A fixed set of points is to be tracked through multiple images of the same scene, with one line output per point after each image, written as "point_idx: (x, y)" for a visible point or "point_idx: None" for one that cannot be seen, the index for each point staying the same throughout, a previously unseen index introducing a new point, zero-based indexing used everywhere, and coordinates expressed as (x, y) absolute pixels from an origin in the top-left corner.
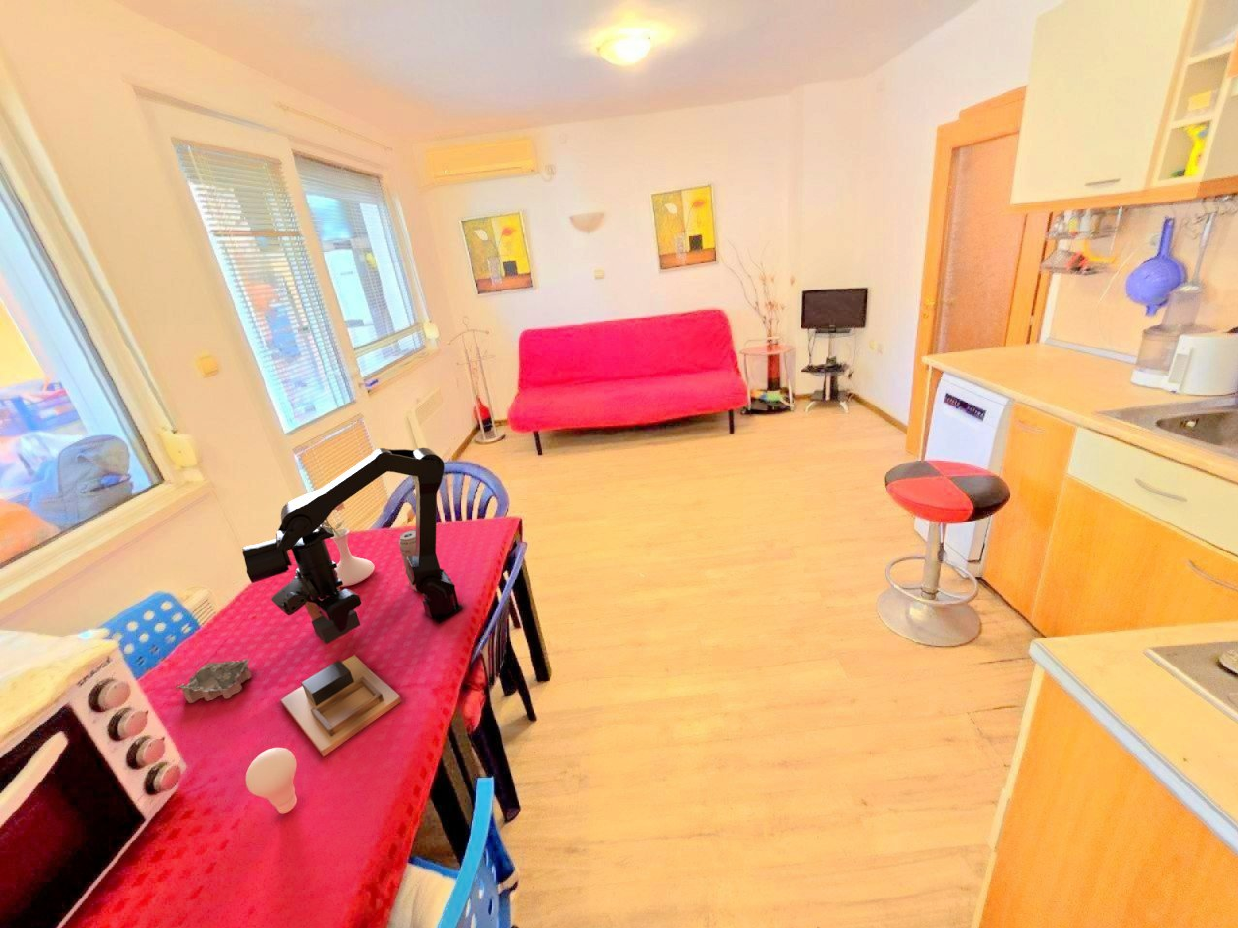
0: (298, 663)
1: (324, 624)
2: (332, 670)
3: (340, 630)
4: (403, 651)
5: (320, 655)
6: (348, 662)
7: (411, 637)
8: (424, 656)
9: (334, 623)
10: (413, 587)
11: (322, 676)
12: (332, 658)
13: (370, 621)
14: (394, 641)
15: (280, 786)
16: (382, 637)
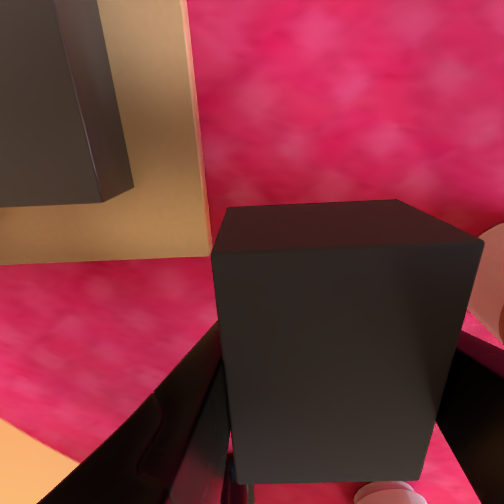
0: (416, 68)
1: (288, 304)
2: (27, 143)
3: (215, 324)
4: (121, 357)
5: (370, 163)
6: (179, 224)
7: None
8: (48, 381)
9: (207, 364)
10: (387, 498)
11: (6, 77)
12: (301, 190)
13: None
14: None
15: None
16: None
